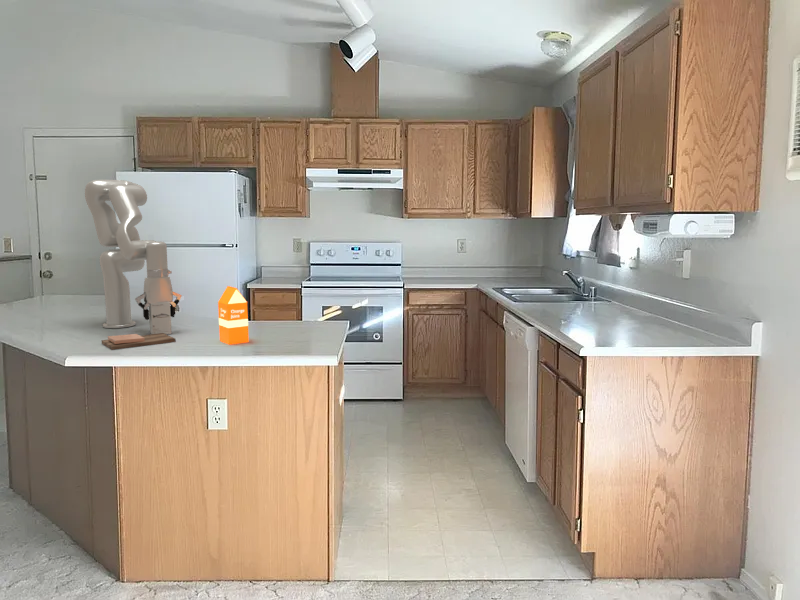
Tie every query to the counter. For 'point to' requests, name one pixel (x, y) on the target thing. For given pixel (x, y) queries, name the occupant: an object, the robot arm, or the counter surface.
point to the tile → (126, 338)
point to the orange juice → (233, 317)
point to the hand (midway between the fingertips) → (159, 318)
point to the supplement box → (160, 318)
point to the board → (149, 340)
